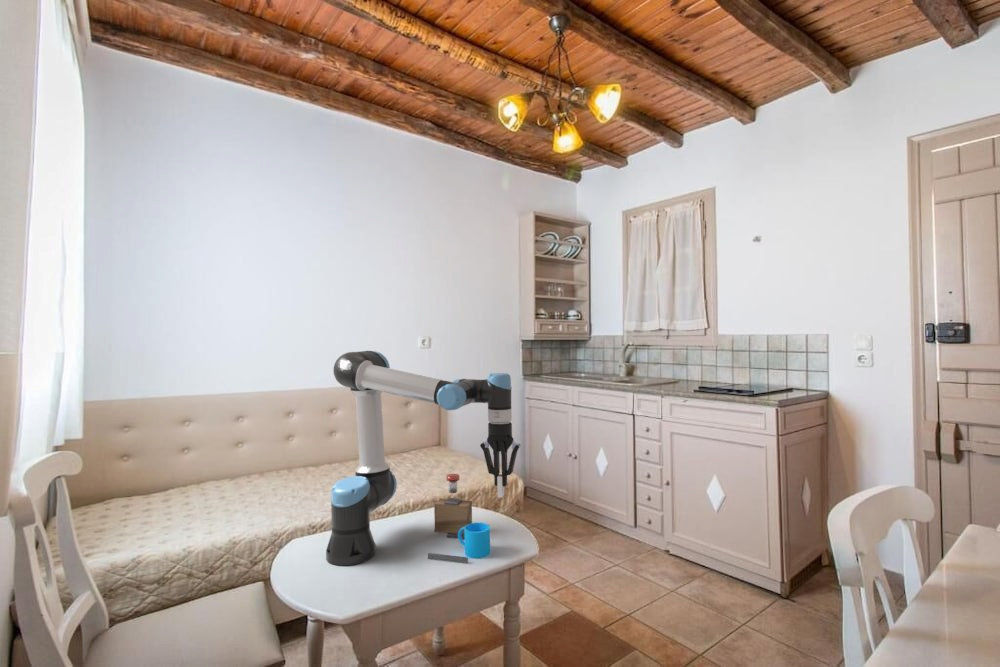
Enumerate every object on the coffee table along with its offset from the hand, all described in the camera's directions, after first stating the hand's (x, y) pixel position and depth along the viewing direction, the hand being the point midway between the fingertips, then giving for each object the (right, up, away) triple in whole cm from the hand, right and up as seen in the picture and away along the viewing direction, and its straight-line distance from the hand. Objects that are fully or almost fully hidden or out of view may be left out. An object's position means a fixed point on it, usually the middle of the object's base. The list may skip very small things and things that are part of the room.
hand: (501, 495), depth 154 cm
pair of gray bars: (-14, -19, +4) cm, 24 cm away
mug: (-9, -19, +3) cm, 21 cm away
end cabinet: (-17, -19, +19) cm, 32 cm away
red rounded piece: (-17, -5, +19) cm, 26 cm away
